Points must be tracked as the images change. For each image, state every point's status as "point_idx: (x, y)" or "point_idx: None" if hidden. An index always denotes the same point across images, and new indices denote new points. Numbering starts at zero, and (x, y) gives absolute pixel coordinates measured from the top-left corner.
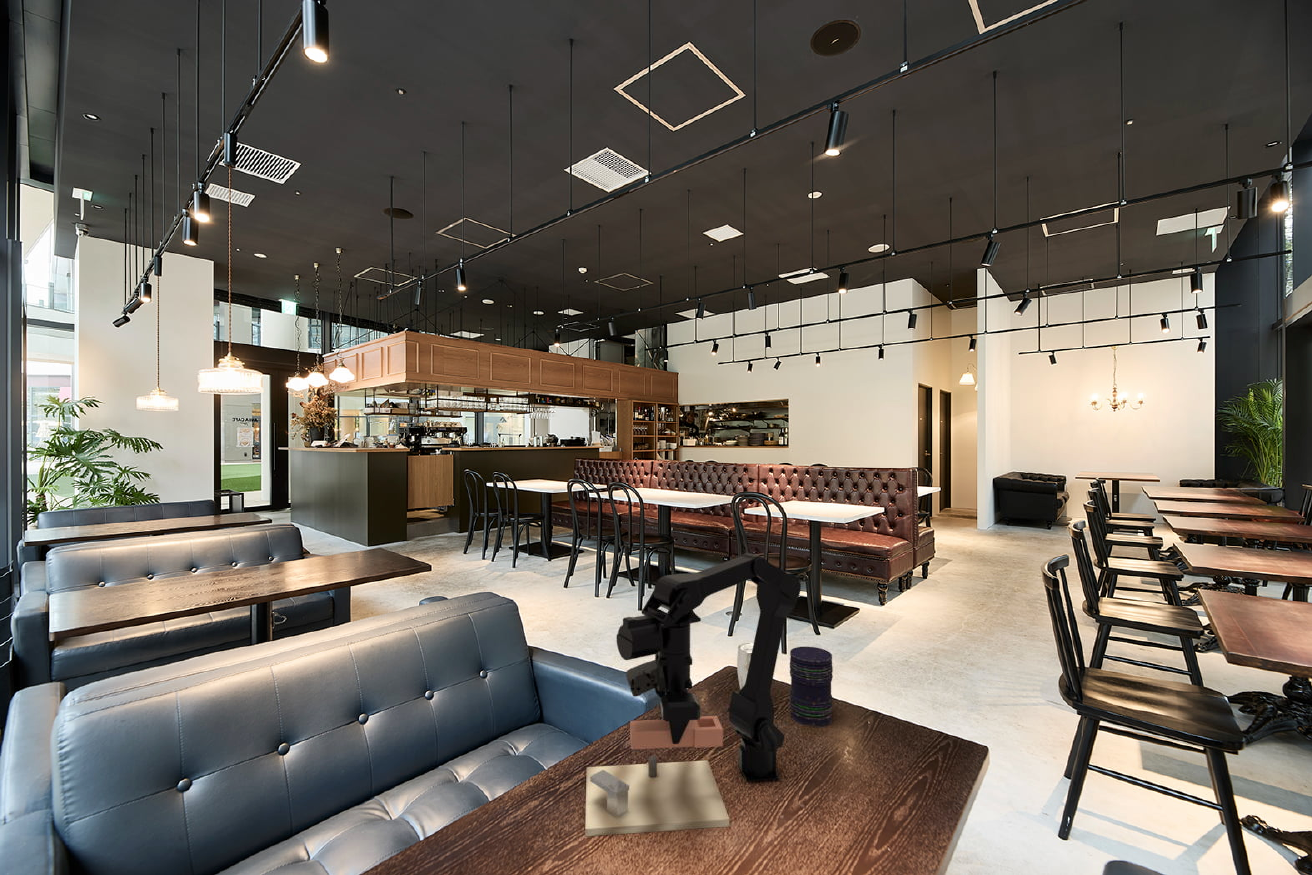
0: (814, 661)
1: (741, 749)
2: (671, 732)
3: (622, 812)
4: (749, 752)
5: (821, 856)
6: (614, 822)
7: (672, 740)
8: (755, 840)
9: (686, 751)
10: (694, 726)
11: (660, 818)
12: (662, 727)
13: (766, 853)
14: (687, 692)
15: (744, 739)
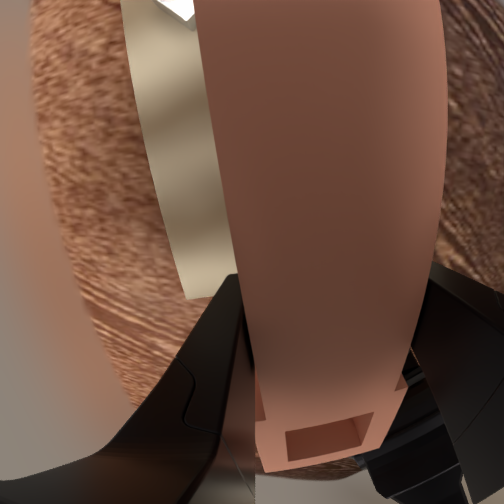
0: None
1: None
2: (194, 330)
3: (173, 17)
4: None
5: (142, 392)
6: (142, 4)
7: (221, 287)
8: (153, 327)
9: (474, 207)
10: (296, 417)
11: (165, 131)
12: (299, 254)
13: (124, 337)
14: (470, 495)
15: (406, 371)
